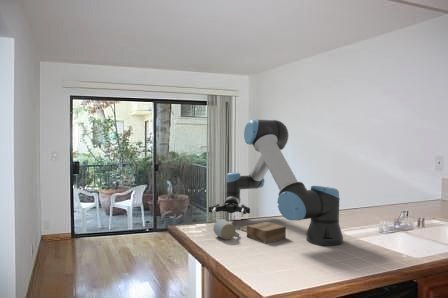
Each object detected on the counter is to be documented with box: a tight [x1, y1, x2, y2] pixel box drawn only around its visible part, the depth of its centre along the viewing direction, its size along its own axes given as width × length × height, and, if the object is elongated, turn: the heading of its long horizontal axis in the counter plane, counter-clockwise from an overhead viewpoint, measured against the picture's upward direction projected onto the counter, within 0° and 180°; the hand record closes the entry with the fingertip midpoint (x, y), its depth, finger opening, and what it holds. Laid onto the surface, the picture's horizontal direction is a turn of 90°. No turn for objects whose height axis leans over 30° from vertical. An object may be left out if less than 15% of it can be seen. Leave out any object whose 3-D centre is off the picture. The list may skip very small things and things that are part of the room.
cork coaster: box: [240, 225, 248, 232], centre depth 174 cm, size 9×9×1 cm
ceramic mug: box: [213, 218, 240, 241], centre depth 159 cm, size 11×8×8 cm
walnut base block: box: [246, 221, 287, 244], centre depth 159 cm, size 12×12×5 cm
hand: (227, 213), depth 169 cm, fingers open, 13 cm apart
